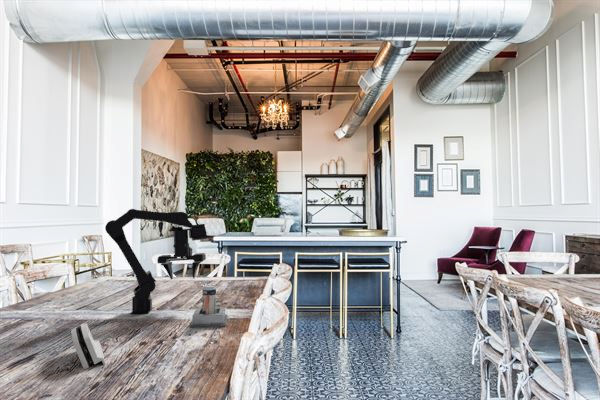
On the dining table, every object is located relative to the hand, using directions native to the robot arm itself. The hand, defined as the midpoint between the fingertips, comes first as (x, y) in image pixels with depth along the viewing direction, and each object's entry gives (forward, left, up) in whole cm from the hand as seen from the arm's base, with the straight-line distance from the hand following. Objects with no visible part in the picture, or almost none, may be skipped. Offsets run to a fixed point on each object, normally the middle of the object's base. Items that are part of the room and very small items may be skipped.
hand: (182, 278), depth 158 cm
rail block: (+13, -24, -12) cm, 30 cm away
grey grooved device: (-16, -53, -12) cm, 57 cm away
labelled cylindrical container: (+13, -24, -11) cm, 29 cm away
